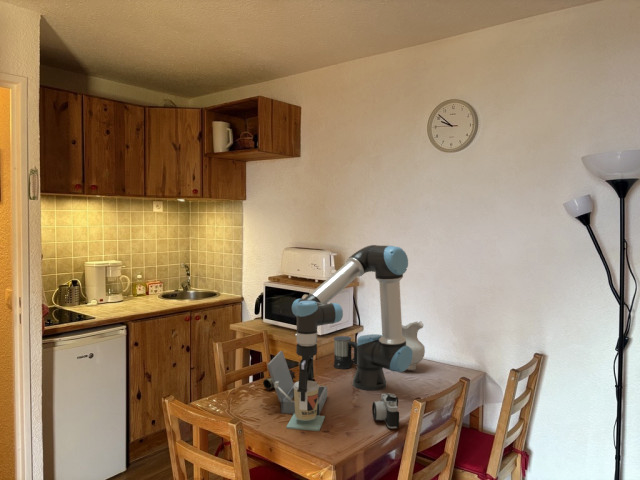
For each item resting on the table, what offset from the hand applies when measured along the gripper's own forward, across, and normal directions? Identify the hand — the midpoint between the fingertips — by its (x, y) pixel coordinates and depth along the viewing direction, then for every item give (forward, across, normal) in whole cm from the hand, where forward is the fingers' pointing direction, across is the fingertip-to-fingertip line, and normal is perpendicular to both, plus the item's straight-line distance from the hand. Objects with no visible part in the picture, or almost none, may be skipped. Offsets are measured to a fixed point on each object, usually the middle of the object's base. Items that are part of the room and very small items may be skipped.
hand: (306, 404), depth 174 cm
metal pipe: (+10, -32, -22) cm, 40 cm away
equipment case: (+7, -17, -4) cm, 19 cm away
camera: (+7, -8, +28) cm, 30 cm away
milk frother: (+7, -74, +7) cm, 75 cm away
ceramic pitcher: (+7, -76, +35) cm, 84 cm away
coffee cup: (+5, 0, 0) cm, 5 cm away
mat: (+7, 0, 0) cm, 7 cm away
